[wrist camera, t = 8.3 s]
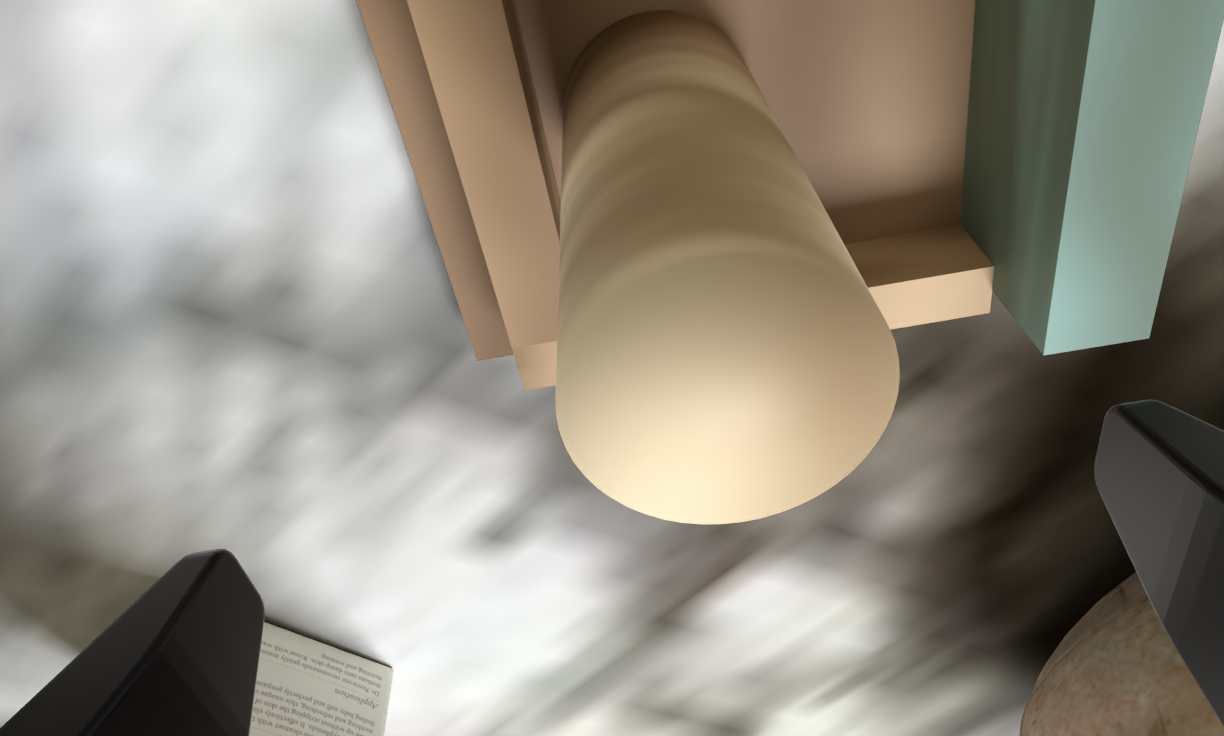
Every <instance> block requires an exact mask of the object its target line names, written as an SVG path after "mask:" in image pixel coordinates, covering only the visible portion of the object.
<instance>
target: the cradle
mask: <svg viewBox="0 0 1224 736" xmlns="http://www.w3.org/2000/svg"><path fill="white" fill-rule="evenodd" d="M356 1H357V4H358V7H359V10H360V13H361V16H362V19H363V22H364V25H365V28H366V31H367V34H368V37H369V40H370V43H371V46H372V49H373V52H374V55H375V58H376V61H377V63H378V66H379V69H380V72H381V75H382V78H383V81H384V84H385V87H386V90H387V93H388V96H389V99H390V102H391V105H392V108H393V111H394V114H395V117H396V120H397V123H398V126H399V129H400V132H401V135H402V138H403V141H404V144H405V147H406V150H407V153H408V156H409V159H410V162H411V165H412V168H413V171H414V174H415V177H416V180H417V183H418V186H419V189H420V192H421V195H422V198H423V201H424V204H425V207H426V210H427V213H428V216H429V219H430V222H431V225H432V228H433V231H434V234H435V237H436V240H437V243H438V246H439V249H440V252H441V255H442V257H443V260H444V263H445V266H446V269H447V272H448V275H449V278H450V281H451V284H452V287H453V290H454V293H455V296H456V299H457V302H458V305H459V308H460V311H461V314H462V317H463V320H464V323H465V326H466V329H467V332H468V335H469V338H470V341H471V344H472V347H473V350H474V353H475V356H476V359H477V361H479V360H485V359H491V358H497V357H503V356H509V355H514V357H515V360H516V363H517V367H518V370H519V373H520V377H521V380H522V383H523V387H524V390H530V389H536V388H542V387H548V386H554V385H556V364H557V327H558V289H559V253H560V216H561V178H562V141H563V104H564V95H565V89H566V85H567V81H568V78H569V75H570V73H571V70H572V68H573V66H574V64H575V62H576V60H577V58H578V57H579V55H580V54H581V52H582V51H583V50H584V48H585V47H586V46H587V45H588V43H589V42H590V41H591V40H592V39H593V38H594V37H595V36H596V35H598V34H599V33H600V32H601V31H603V30H604V29H605V28H607V27H608V26H610V25H612V24H613V23H615V22H617V21H618V20H621V19H623V18H626V17H628V16H630V15H634V14H638V13H641V12H646V11H654V10H671V11H678V12H683V13H687V14H690V15H693V16H696V17H698V18H701V19H703V20H705V21H707V22H709V23H710V24H712V25H713V26H715V27H716V28H718V29H719V30H720V31H721V32H722V33H723V34H725V35H726V36H727V37H728V38H729V39H730V41H731V42H732V43H733V44H734V45H735V47H736V48H737V50H738V51H739V53H740V54H741V56H742V58H743V60H744V61H745V63H746V65H747V67H748V69H749V71H750V72H751V74H752V76H753V78H754V80H755V82H756V83H757V85H758V87H759V89H760V91H761V93H762V94H763V96H764V98H765V100H766V102H767V104H768V106H769V107H770V109H771V111H772V113H773V115H774V117H775V118H776V120H777V122H778V124H779V126H780V128H781V129H782V131H783V133H784V135H785V137H786V139H787V140H788V142H789V144H790V146H791V148H792V150H793V151H794V153H795V155H796V157H797V159H798V161H799V162H800V164H801V166H802V168H803V170H804V172H805V173H806V175H807V177H808V179H809V181H810V183H811V184H812V186H813V188H814V190H815V192H816V194H817V195H818V197H819V199H820V201H821V203H822V205H823V206H824V208H825V210H826V212H827V214H828V216H829V217H830V219H831V221H832V223H833V225H834V227H835V229H836V230H837V232H838V234H839V236H840V238H841V240H842V241H843V243H844V245H845V247H846V249H847V251H848V252H849V254H850V256H851V258H852V260H853V262H854V263H855V265H856V267H857V269H858V271H859V273H860V274H861V276H862V278H863V280H864V282H865V284H866V285H867V287H868V289H869V291H870V293H871V295H872V296H873V298H874V300H875V302H876V304H877V306H878V307H879V309H880V311H881V313H882V315H883V317H884V318H885V320H886V322H887V324H888V326H889V329H896V328H902V327H908V326H914V325H920V324H926V323H932V322H938V321H944V320H950V319H956V318H962V317H968V316H974V315H980V314H986V313H990V307H991V297H992V290H993V292H994V293H995V294H996V296H997V297H998V298H999V299H1000V301H1001V302H1002V303H1003V304H1004V306H1005V307H1006V308H1007V310H1008V311H1009V312H1010V313H1011V315H1012V316H1013V317H1014V319H1015V320H1016V321H1017V322H1018V324H1019V325H1020V326H1021V328H1022V329H1023V330H1024V331H1025V333H1026V334H1027V335H1028V336H1029V338H1030V339H1031V340H1032V342H1033V343H1034V344H1035V345H1036V347H1037V348H1038V349H1039V351H1040V352H1041V353H1042V354H1043V356H1044V355H1050V354H1056V353H1062V352H1068V351H1074V350H1081V349H1087V348H1093V347H1099V346H1105V345H1111V344H1118V343H1124V342H1130V341H1136V340H1142V339H1148V338H1149V337H1150V333H1151V329H1152V324H1153V320H1154V316H1155V311H1156V307H1157V303H1158V299H1159V294H1160V290H1161V286H1162V281H1163V277H1164V273H1165V268H1166V264H1167V260H1168V256H1169V251H1170V247H1171V243H1172V238H1173V234H1174V230H1175V226H1176V221H1177V217H1178V213H1179V208H1180V204H1181V200H1182V195H1183V191H1184V187H1185V183H1186V178H1187V174H1188V170H1189V165H1190V161H1191V157H1192V153H1193V148H1194V144H1195V140H1196V135H1197V131H1198V127H1199V122H1200V118H1201V114H1202V110H1203V105H1204V101H1205V97H1206V92H1207V88H1208V84H1209V80H1210V75H1211V71H1212V67H1213V62H1214V58H1215V54H1216V49H1217V45H1218V41H1219V37H1220V32H1221V28H1222V24H1223V19H1224V0H356Z"/></svg>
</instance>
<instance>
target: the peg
mask: <svg viewBox="0 0 1224 736" xmlns="http://www.w3.org/2000/svg"><path fill="white" fill-rule="evenodd" d="M899 380H900V369H899V357H898V353H897V348H896V344H895V340H894V338H893V336H892V333H891V331H890V329H889V326H888V324H887V322H886V320H885V318H884V317H883V315H882V313H881V311H880V309H879V307H878V306H877V304H876V302H875V300H874V298H873V296H872V295H871V293H870V291H869V289H868V287H867V285H866V284H865V282H864V280H863V278H862V276H861V274H860V273H859V271H858V269H857V267H856V265H855V263H854V262H853V260H852V258H851V256H850V254H849V252H848V251H847V249H846V247H845V245H844V243H843V241H842V240H841V238H840V236H839V234H838V232H837V230H836V229H835V227H834V225H833V223H832V221H831V219H830V217H829V216H828V214H827V212H826V210H825V208H824V206H823V205H822V203H821V201H820V199H819V197H818V195H817V194H816V192H815V190H814V188H813V186H812V184H811V183H810V181H809V179H808V177H807V175H806V173H805V172H804V170H803V168H802V166H801V164H800V162H799V161H798V159H797V157H796V155H795V153H794V151H793V150H792V148H791V146H790V144H789V142H788V140H787V139H786V137H785V135H784V133H783V131H782V129H781V128H780V126H779V124H778V122H777V120H776V118H775V117H774V115H773V113H772V111H771V109H770V107H769V106H768V104H767V102H766V100H765V98H764V96H763V94H762V93H761V91H760V89H759V87H758V85H757V83H756V82H755V80H754V78H753V76H752V74H751V72H750V71H749V69H748V67H747V65H746V63H745V61H744V60H743V58H742V56H741V54H740V53H739V51H738V50H737V48H736V47H735V45H734V44H733V43H732V42H731V41H730V39H729V38H728V37H727V36H726V35H725V34H723V33H722V32H721V31H720V30H719V29H718V28H716V27H715V26H713V25H712V24H710V23H709V22H707V21H705V20H703V19H701V18H698V17H696V16H693V15H690V14H687V13H683V12H678V11H671V10H654V11H646V12H641V13H638V14H634V15H630V16H628V17H626V18H623V19H621V20H618V21H617V22H615V23H613V24H612V25H610V26H608V27H607V28H605V29H604V30H603V31H601V32H600V33H599V34H598V35H596V36H595V37H594V38H593V39H592V40H591V41H590V42H589V43H588V45H587V46H586V47H585V48H584V50H583V51H582V52H581V54H580V55H579V57H578V58H577V60H576V62H575V64H574V66H573V68H572V70H571V73H570V75H569V78H568V81H567V85H566V89H565V95H564V104H563V141H562V178H561V216H560V253H559V289H558V327H557V364H556V417H557V422H558V427H559V432H560V434H561V437H562V440H563V442H564V445H565V448H566V449H567V451H568V453H569V455H570V456H571V458H572V460H573V462H574V463H575V464H576V466H577V467H578V468H579V469H580V471H581V472H582V473H583V474H584V476H585V477H586V478H587V479H588V480H590V481H591V482H592V483H593V484H594V485H595V486H596V487H597V488H598V489H600V490H601V491H602V492H604V493H605V494H607V495H608V496H609V497H611V498H612V499H614V500H616V501H618V502H619V503H621V504H623V505H625V506H627V507H629V508H631V509H634V510H636V511H639V512H641V513H644V514H647V515H650V516H654V517H657V518H661V519H664V520H670V521H676V522H681V523H692V524H727V523H736V522H744V521H749V520H754V519H759V518H764V517H767V516H770V515H774V514H777V513H781V512H783V511H786V510H788V509H791V508H793V507H796V506H798V505H801V504H803V503H805V502H807V501H809V500H811V499H813V498H815V497H817V496H818V495H820V494H822V493H823V492H825V491H826V490H828V489H829V488H831V487H833V486H834V485H836V484H837V483H838V482H839V481H841V480H842V479H843V478H844V477H846V476H847V475H848V474H849V473H851V472H852V471H853V470H854V469H855V468H856V467H857V466H858V465H859V464H860V463H861V462H862V461H863V460H864V459H865V457H866V456H867V455H868V454H869V452H870V451H871V450H872V449H873V448H874V446H875V445H876V444H877V442H878V440H879V439H880V437H881V435H882V434H883V432H884V431H885V429H886V427H887V425H888V422H889V420H890V418H891V415H892V413H893V411H894V407H895V403H896V400H897V396H898V389H899Z"/></svg>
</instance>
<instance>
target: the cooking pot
mask: <svg viewBox="0 0 1224 736" xmlns="http://www.w3.org/2000/svg"><path fill="white" fill-rule="evenodd" d="M1019 736H1224V726H1223V725H1222V723H1221V721H1220V720H1219V718H1218V717H1217V715H1216V713H1215V712H1214V710H1213V708H1212V707H1211V705H1210V704H1209V702H1208V700H1207V699H1206V697H1205V695H1204V694H1203V692H1202V691H1201V689H1200V687H1199V686H1198V684H1197V682H1196V681H1195V679H1194V677H1193V676H1192V674H1191V673H1190V671H1189V669H1188V668H1187V666H1186V664H1185V663H1184V661H1183V660H1182V658H1181V656H1180V655H1179V653H1178V651H1177V650H1176V648H1175V646H1174V645H1173V643H1172V641H1171V640H1170V638H1169V636H1168V634H1167V633H1166V631H1165V629H1164V627H1163V626H1162V624H1161V622H1160V620H1159V618H1158V616H1157V614H1156V612H1155V610H1154V608H1153V606H1152V604H1151V602H1150V600H1149V598H1148V595H1147V593H1146V591H1145V589H1144V587H1143V585H1142V583H1141V581H1140V578H1139V576H1138V574H1137V572H1135V573H1134V574H1132V575H1131V576H1130V577H1128V578H1127V579H1126V580H1124V581H1123V582H1122V583H1121V584H1119V585H1118V586H1117V587H1116V588H1114V589H1113V590H1112V591H1110V592H1109V593H1108V594H1107V595H1105V596H1104V597H1103V598H1102V599H1100V600H1099V601H1098V602H1097V603H1096V604H1095V605H1094V606H1093V607H1092V608H1091V609H1090V610H1089V611H1088V612H1087V613H1086V614H1085V615H1084V616H1083V617H1082V618H1081V619H1080V620H1079V621H1078V622H1077V624H1076V625H1075V626H1074V627H1073V628H1072V629H1071V630H1070V631H1069V632H1068V633H1067V634H1066V636H1065V637H1064V638H1063V640H1062V641H1061V643H1060V644H1059V645H1058V647H1057V648H1056V650H1055V651H1054V653H1053V654H1052V655H1051V657H1050V658H1049V660H1048V661H1047V663H1046V664H1045V666H1044V667H1043V669H1042V671H1041V672H1040V675H1039V677H1038V679H1037V681H1036V683H1035V686H1034V688H1033V691H1032V693H1031V695H1030V698H1029V700H1028V703H1027V705H1026V707H1025V710H1024V713H1023V716H1022V721H1021V726H1020V734H1019Z"/></svg>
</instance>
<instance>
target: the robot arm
mask: <svg viewBox="0 0 1224 736" xmlns="http://www.w3.org/2000/svg"><path fill="white" fill-rule="evenodd" d="M1094 476H1095V482H1096V485H1097V488H1098V491H1099V493H1100V495H1101V497H1102V499H1103V502H1104V504H1105V506H1106V508H1107V510H1108V512H1109V514H1110V517H1111V519H1112V521H1113V523H1114V525H1115V527H1116V529H1117V531H1118V534H1119V536H1120V538H1121V540H1122V542H1123V544H1124V546H1125V549H1126V551H1127V553H1128V555H1129V557H1130V559H1131V561H1132V563H1133V566H1134V568H1135V570H1136V572H1137V574H1138V576H1139V578H1140V581H1141V583H1142V585H1143V587H1144V589H1145V591H1146V593H1147V595H1148V598H1149V600H1150V602H1151V604H1152V606H1153V608H1154V610H1155V612H1156V614H1157V616H1158V618H1159V620H1160V622H1161V624H1162V626H1163V627H1164V629H1165V631H1166V633H1167V634H1168V636H1169V638H1170V640H1171V641H1172V643H1173V645H1174V646H1175V648H1176V650H1177V651H1178V653H1179V655H1180V656H1181V658H1182V660H1183V661H1184V663H1185V664H1186V666H1187V668H1188V669H1189V671H1190V673H1191V674H1192V676H1193V677H1194V679H1195V681H1196V682H1197V684H1198V686H1199V687H1200V689H1201V691H1202V692H1203V694H1204V695H1205V697H1206V699H1207V700H1208V702H1209V704H1210V705H1211V707H1212V708H1213V710H1214V712H1215V713H1216V715H1217V717H1218V718H1219V720H1220V721H1221V723H1222V725H1223V726H1224V430H1222V429H1219V428H1217V427H1215V426H1213V425H1211V424H1209V423H1207V422H1204V421H1202V420H1200V419H1198V418H1196V417H1194V416H1192V415H1189V414H1187V413H1185V412H1183V411H1181V410H1179V409H1177V408H1174V407H1172V406H1170V405H1168V404H1166V403H1163V402H1161V401H1158V400H1142V401H1135V402H1129V403H1123V404H1117V405H1114V406H1112V407H1111V408H1110V409H1109V410H1108V411H1107V412H1106V414H1105V417H1104V421H1103V426H1102V431H1101V435H1100V440H1099V445H1098V450H1097V454H1096V459H1095V464H1094ZM263 627H264V606H263V602H262V599H261V597H260V595H259V593H258V591H257V590H256V588H255V587H254V585H253V584H252V582H251V581H250V579H249V578H248V576H247V575H246V573H245V571H244V570H243V568H242V567H241V565H240V564H239V562H238V561H237V559H236V558H235V556H234V555H233V554H232V553H231V552H229V551H227V550H226V549H215V550H209V551H203V552H197V553H192V554H189V555H187V556H185V557H183V558H182V559H181V560H180V561H178V562H177V563H176V564H175V565H174V566H173V567H172V568H171V569H170V570H169V571H168V572H167V573H166V574H165V575H163V576H162V577H161V578H160V579H159V580H158V581H157V582H156V583H155V584H154V585H153V586H152V587H151V588H150V589H149V590H147V591H146V592H145V593H144V594H143V595H142V596H141V597H140V598H139V599H138V600H137V601H136V602H135V603H134V604H133V605H131V606H130V607H129V608H128V609H127V610H126V611H125V612H124V613H123V614H122V615H121V616H120V617H119V618H118V619H117V620H115V621H114V622H113V623H112V624H111V625H110V626H109V627H108V628H107V629H106V630H105V631H104V632H103V633H102V634H100V635H99V636H98V637H97V638H96V639H95V640H94V641H93V642H92V643H91V644H90V645H89V646H88V647H87V648H86V649H84V650H83V651H82V652H81V653H80V654H79V655H78V656H77V657H76V658H75V659H74V660H73V661H72V662H71V663H70V664H68V665H67V666H66V667H65V668H64V669H63V670H62V671H61V672H60V673H59V674H58V675H57V676H56V677H55V678H54V679H52V680H51V681H50V682H49V683H48V684H47V685H46V686H45V687H44V688H43V689H42V690H41V691H40V692H39V693H37V694H36V695H35V696H34V697H33V698H32V699H31V700H30V701H29V702H28V703H27V704H26V705H25V706H24V707H22V708H21V709H20V710H19V711H18V712H17V713H16V714H15V715H14V716H13V717H12V718H11V719H10V720H9V721H8V722H6V723H5V724H4V725H3V726H2V727H1V728H0V736H249V734H250V726H251V719H252V711H253V703H254V696H255V688H256V680H257V673H258V665H259V657H260V650H261V642H262V634H263Z"/></svg>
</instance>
